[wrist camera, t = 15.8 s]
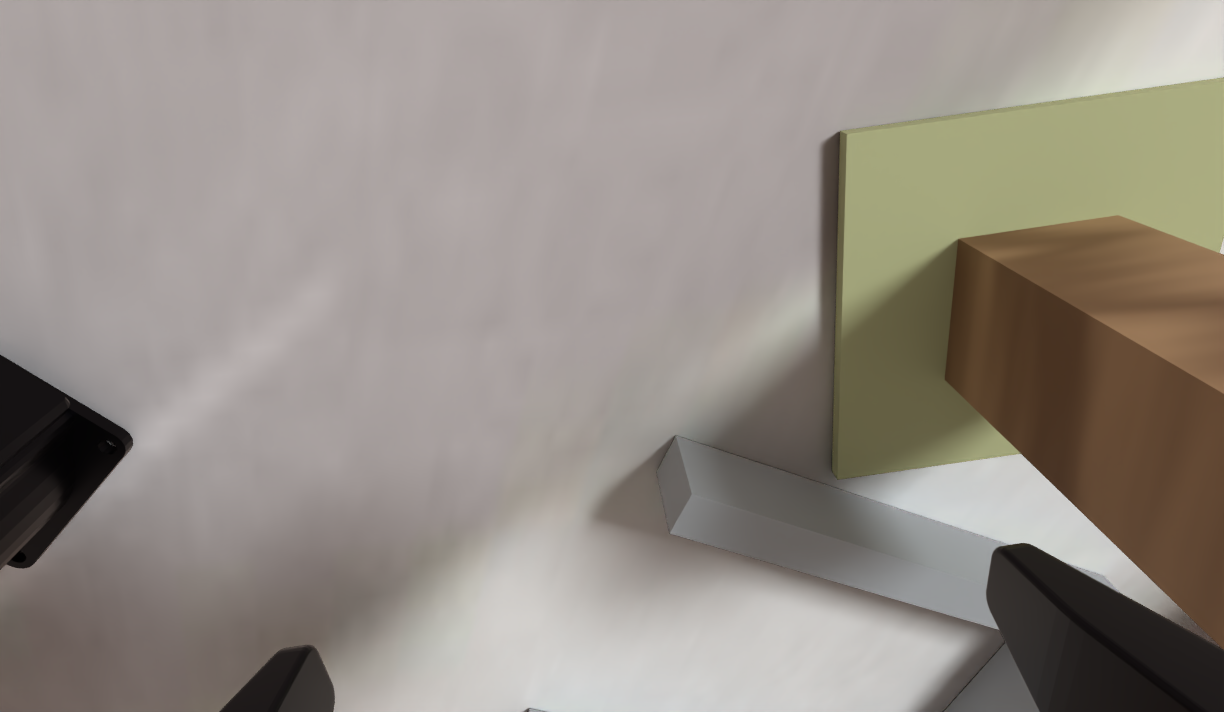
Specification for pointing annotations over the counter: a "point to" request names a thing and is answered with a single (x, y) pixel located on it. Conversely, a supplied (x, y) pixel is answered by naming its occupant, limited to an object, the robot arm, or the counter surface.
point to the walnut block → (1107, 384)
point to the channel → (842, 547)
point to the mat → (979, 205)
